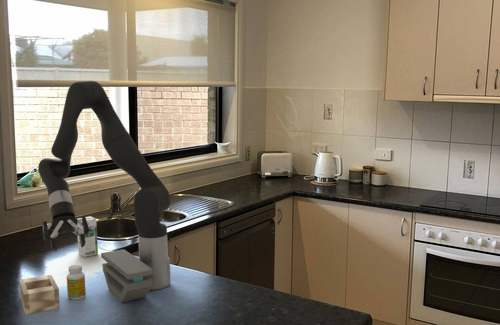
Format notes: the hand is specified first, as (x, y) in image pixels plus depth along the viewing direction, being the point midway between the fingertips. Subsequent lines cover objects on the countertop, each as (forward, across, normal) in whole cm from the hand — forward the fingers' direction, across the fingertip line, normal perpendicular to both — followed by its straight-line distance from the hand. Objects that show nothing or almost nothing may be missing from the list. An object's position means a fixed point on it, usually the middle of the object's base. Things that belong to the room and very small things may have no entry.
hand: (69, 247), depth 180 cm
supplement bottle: (+16, 0, +3) cm, 16 cm away
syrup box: (-15, +12, +34) cm, 39 cm away
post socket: (+16, -11, +3) cm, 20 cm away
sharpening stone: (+20, +14, -1) cm, 25 cm away
